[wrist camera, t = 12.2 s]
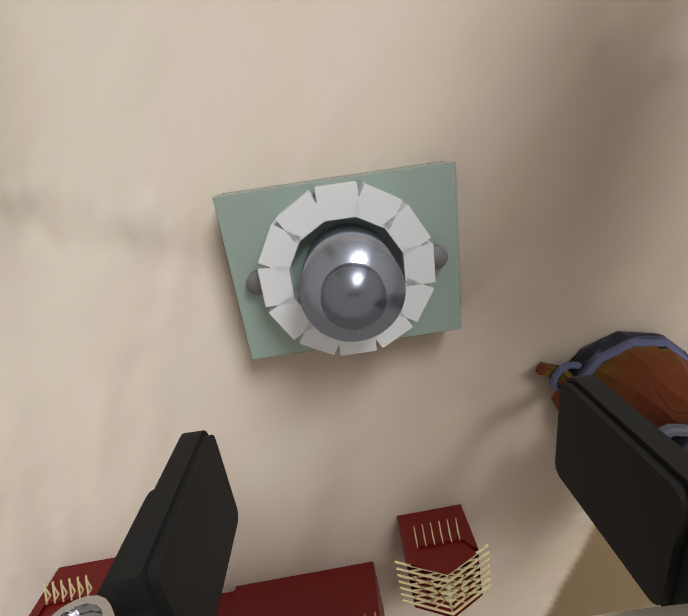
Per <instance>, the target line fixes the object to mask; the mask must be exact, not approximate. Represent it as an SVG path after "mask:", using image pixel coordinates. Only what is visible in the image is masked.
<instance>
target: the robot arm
mask: <svg viewBox="0 0 688 616" xmlns="http://www.w3.org/2000/svg"><path fill="white" fill-rule="evenodd" d="M555 465H556V470H557V472H558V475H559V476H560V478H561V479H562V481H563V482H564V484H565V485H566V486H567V488H568V489H569V490H570V492H571V493H572V495H573V496H574V497H575V499H576V500H577V501H578V503H579V504H580V505H581V507H582V508H583V510H584V511H585V512H586V514H587V515H588V516H589V518H590V519H591V521H592V522H593V523H594V525H595V526H596V527H597V529H598V530H599V531H600V533H601V534H602V535H603V537H604V538H605V540H606V541H607V542H608V544H609V545H610V547H611V548H612V549H613V551H614V552H615V553H616V555H617V556H618V558H619V559H620V560H621V562H622V563H623V564H624V566H625V567H626V568H627V570H628V571H629V573H630V574H631V575H632V577H633V578H634V579H635V581H636V582H637V584H638V585H639V586H640V588H641V589H642V590H643V592H644V593H645V595H646V596H647V597H648V598H649V600H651V602H652V603H654V604H656V605H661V607H654V608H645V609H638V610H630V611H623V612H616V613H609V614H601V615H594V616H688V452H687V451H685V450H684V449H683V448H682V447H680V446H679V445H678V444H677V443H676V442H674V441H673V440H672V439H671V438H670V437H668V436H667V435H666V434H665V433H663V432H662V431H661V430H660V429H659V428H657V427H656V426H655V425H654V424H653V423H651V422H650V421H649V420H648V419H646V418H645V417H644V416H643V415H642V414H640V413H639V412H638V411H637V410H636V409H634V408H633V407H632V406H631V405H629V404H628V403H627V402H626V401H625V400H623V399H622V398H621V397H620V396H619V395H617V394H616V393H615V392H614V391H612V390H611V389H610V388H609V387H608V386H606V385H605V384H604V383H603V382H602V381H600V380H599V379H598V378H597V377H595V376H594V375H583V376H576V377H570V378H568V379H567V380H566V384H562V385H561V388H560V400H559V415H558V429H557V444H556V458H555ZM237 523H238V511H237V507H236V503H235V500H234V497H233V494H232V490H231V487H230V484H229V481H228V478H227V474H226V471H225V468H224V465H223V462H222V458H221V455H220V452H219V449H218V445H217V442H216V439H215V437H214V435H208V433H207V432H206V431H204V430H203V431H196V432H189V433H184V434H182V435H181V437H180V439H179V441H178V443H177V445H176V447H175V449H174V451H173V453H172V455H171V457H170V459H169V461H168V463H167V465H166V467H165V469H164V471H163V473H162V475H161V477H160V479H159V481H158V483H157V485H156V487H155V489H154V490H152V491H151V492H149V494H148V495H147V497H146V499H145V501H144V502H143V504H142V506H141V508H140V510H139V512H138V514H137V516H136V518H135V520H134V522H133V524H132V526H131V528H130V530H129V532H128V534H127V536H126V538H125V540H124V542H123V544H122V546H121V548H120V550H119V552H118V554H117V556H116V557H115V559H114V561H113V563H112V565H111V567H110V569H109V571H108V573H107V575H106V577H105V579H104V581H103V583H102V585H101V587H100V589H99V591H98V593H97V595H95V596H85V597H83V598H80V599H77V600H74V601H72V602H71V603H69V604H67V605H65V606H64V607H62V608H60V609H59V610H58V611H57V612H56V613H54V614H53V615H52V616H217V611H218V607H219V603H220V598H221V594H222V589H223V585H224V581H225V576H226V572H227V568H228V563H229V559H230V554H231V550H232V546H233V541H234V537H235V532H236V528H237Z"/></svg>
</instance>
